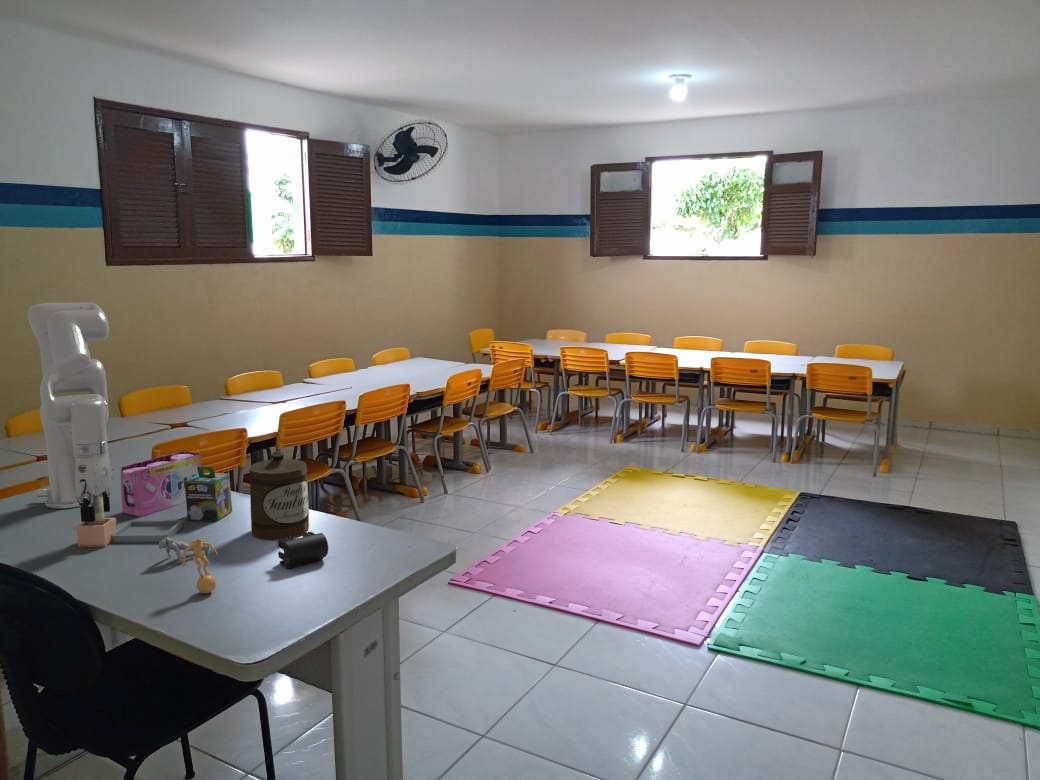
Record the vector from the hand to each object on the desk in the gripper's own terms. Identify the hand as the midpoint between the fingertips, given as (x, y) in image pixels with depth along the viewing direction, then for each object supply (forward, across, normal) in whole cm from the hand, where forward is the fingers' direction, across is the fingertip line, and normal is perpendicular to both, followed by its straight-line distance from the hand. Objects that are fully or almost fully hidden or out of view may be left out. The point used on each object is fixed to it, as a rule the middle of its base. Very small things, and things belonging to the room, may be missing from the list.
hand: (96, 516), depth 198 cm
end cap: (+7, -15, -55) cm, 57 cm away
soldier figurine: (+7, -11, -26) cm, 29 cm away
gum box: (+7, +32, -4) cm, 33 cm away
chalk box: (+7, +21, -21) cm, 31 cm away
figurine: (+7, -31, -37) cm, 49 cm away
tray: (+7, +6, -10) cm, 14 cm away
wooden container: (+7, +8, -44) cm, 45 cm away
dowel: (+6, 0, 0) cm, 6 cm away
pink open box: (+7, 0, 0) cm, 7 cm away
